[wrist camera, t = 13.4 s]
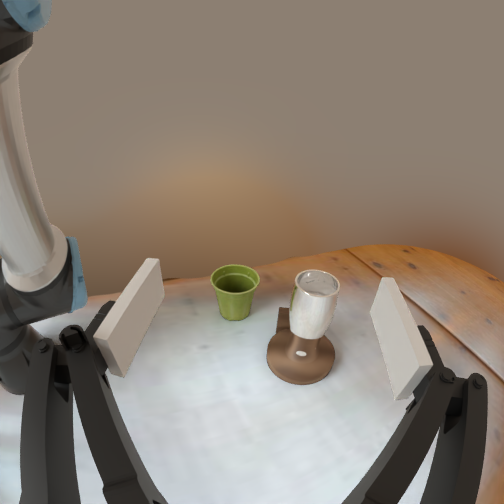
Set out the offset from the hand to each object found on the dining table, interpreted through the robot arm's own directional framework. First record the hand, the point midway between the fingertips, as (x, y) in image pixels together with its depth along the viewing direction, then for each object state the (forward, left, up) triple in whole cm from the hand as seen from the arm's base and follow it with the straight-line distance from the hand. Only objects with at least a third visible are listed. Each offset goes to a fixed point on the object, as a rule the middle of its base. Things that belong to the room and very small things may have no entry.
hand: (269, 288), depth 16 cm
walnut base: (-10, +18, -30) cm, 36 cm away
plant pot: (-27, +15, -30) cm, 43 cm away
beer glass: (-10, +18, -28) cm, 35 cm away
